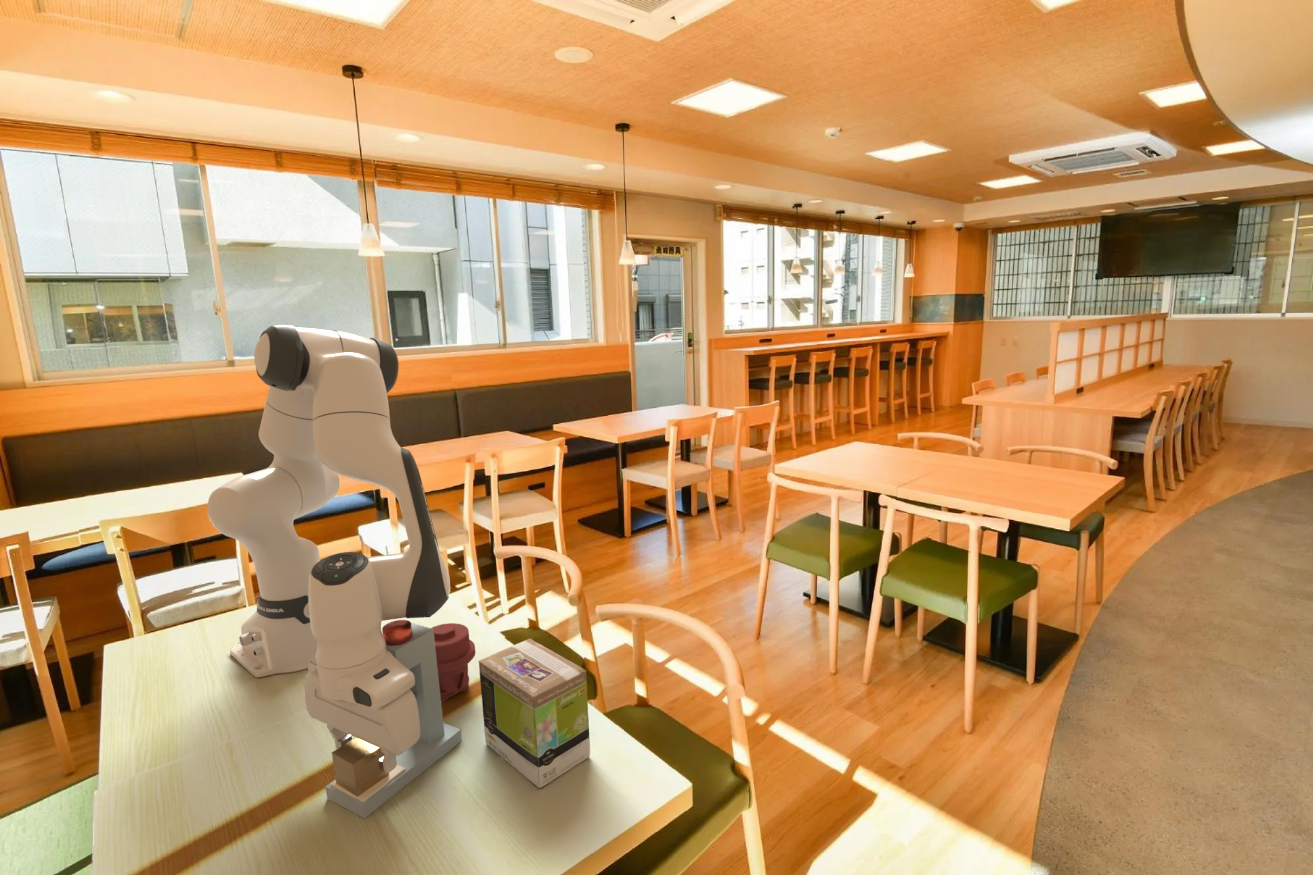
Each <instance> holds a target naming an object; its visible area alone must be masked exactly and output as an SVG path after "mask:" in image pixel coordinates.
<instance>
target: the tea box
mask: <svg viewBox="0 0 1313 875" xmlns="http://www.w3.org/2000/svg"><path fill="white" fill-rule="evenodd" d="M478 667H479V668H478V669H479V672H478V673H479V679H480V690H481V692H480V693H481V704H482V706H481V707H482V717H483V725H484V726H483V727H484V728H483V731H484V737H485V738H484V739H485V744H486V745H488V747H489V748H491V749H492V750H493V751H495V752H496V753H497V754H498V755H499V756H500V757H501V758H503V759H504V760H505V761H506V762H508V763H509V764H510V765H511V766H512V767H513V768H515V770H517V771H518V772H519V773H520V774H522V775H523V776H524V777H525V778H527V779H528V780H529V781H530V782H531V783H532V784H534V786H536V787H537V788H539V789H541V788H543V787H544V786H546V785H548V784H550V783H551V782H553V781H554V780H556V779H558V778H559V777H561V776H563V775H564V774H565V773H566V772H568V771H570V770H572V769H573V768H575V767H576V766H578V765H580V763H582V762H584V761H585V760H586V759H588V758H590V755H591V743H590V742H591V740H590V724H589V722H590V720H589V700H588V683H587V682H588V680H587V670H586V669H584V668H583V667H582V666H580V665H578V664H576V663H574V662H572V661H571V660H569V659H567V658H565V657H564V656H562V655H560V654H558V653H556V652H554V651H553V650H552V649H549V648H547V647H546V646H544V645H543V644H541V643H539V642H537V641H534V639H532V638H527V639H525V640H523V641H521V642H517V643H516V644H513V645H511V646H510V647H507V648H505V649H503V650H500V651H498V652H496V653H493V654H492V655H489V656H487V657H484V658H482V659H480V660H478Z"/></svg>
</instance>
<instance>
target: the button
mask: <svg viewBox="0 0 1313 875" xmlns="http://www.w3.org/2000/svg"><path fill="white" fill-rule="evenodd" d="M411 623H412V622H411V621H410V620H407V619H396V620H394V621H393V620H392V621H391V622H388V623H386V624H385V625H384V626H382V627H381V631H382V634H383V636H384V638H385V641H386V645H389V646H396V645H401V644H404V643H406V642H408V641H410V640H411V639H412V637H413V635H412V626H411ZM410 690H411V688H410ZM412 692H413V691H412ZM413 694H414V696H415V693H414V692H413Z"/></svg>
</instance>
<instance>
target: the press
mask: <svg viewBox="0 0 1313 875" xmlns="http://www.w3.org/2000/svg"><path fill="white" fill-rule="evenodd" d="M411 626H412V635H413V637H412V639H411V640H410V641H408V642H406V643H404V644H401V645H396V646H389V645H386V648H387V651H389V652H390V653H391V654H392V655H393V656H394V657H395V658H396V659H397V660H398V661H399V662H400V663H401V664H402V665H403V666H405V667H406V668H407V669H409V670H410V671H411V672H412V673H413V674H414V677H415V685H414V686H413V687H412V688H411V691H413V692H414V693H415V698H416V701H417V706H418V712H419V720H420V738H419V740H418V741H417V743H416V744H415V745H413V746H412V747H411V748H410V749H408V750H407V751H405V752H404V753H403V754H401V755H399V756H396V760H397V766H396V768H395V769H393V770H392V771H391V772H389V775H388V776H386V777H385V778H384V779H382V780H381V781H379V782H378V783H377V784H375V785H374V786H372V787H371V788H369V789H368V790H367V791H365V792H364V793H362V794H361V795H359V796H358V797H357V796H355V795H354V794H352V793H350V792H349V791H347V790H346V789H344V788H343V787H341V786H339V785H338V784H336V779H333V781H331V782H330V783H328V784H326V786H325V787H324V788H325V791H326V792H325V793H326V798H327V799H328V801H331V802H332V803H335V804H336V805H338V806H340V807H342V808H344V809H345V810H348V811H349V812H352V813H353V814H355V815H357V816H359V817H361V818H363V819H366V818H367V817H368V816H370V815H371V814H372V813H374V811H376V810H377V809H378V808H380V807H381V806H382V805H384V804H385V803H386V802H387V801H388V800H390V799H391V798H392V797H394V796H395V795H396V794H397V793H398V792H400V791H401V790H402V789H404V788H405V787H406V786H407V785H409V783H411V782H412V781H413V780H415V779H416V778H417V777H418V776H420V775H421V774H422V773H423V772H425V771H426V770H427V769H429V768H430V767H431V766H432V765H433V764H434V763H436V762H437V761H438V760H440V759H441V758H442V757H444V756H445V755H446V754H447V753H448V752H450V751H451V750H452V749H454V748H455V747H456V746H457V745H459V743H461V742H462V741H463V738H462V736H463V735H462V730H461V728H458V727H455V726H454V725H451V724H448V723H446V722H444V718H443V717H444V715H443V707H442V702H441V696H440V687H439V678H438V668H437V659H436V650H435V640H434V631H433V629H431V628H432V627H428V626H424V625H420V624H418V623H415V622H411Z"/></svg>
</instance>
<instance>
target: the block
mask: <svg viewBox="0 0 1313 875" xmlns="http://www.w3.org/2000/svg"><path fill="white" fill-rule="evenodd" d="M331 755H332V756H331V757H332V764H333V771H334V777H335V779H336V784H338V785H339V786H341V787H343V788H344V789H346V790H347V791H349V792H350V793H352V794H354V795H355V796H357V797H358V796H359V795H361V794H362V793H364V792H365V791H367V790H368V789H369V788H371V787H372V786H374V785H375V784H377V783H378V782H379V781H381V780H382V779H384V778H385V777H386V776H388V775H389V773H386V772H384V771H382V770H380V769H379V766H380V765H379V762H378V760H379V759H380V758H382V757H384V753H382V752H381V748H379V747H376V746H374V745H372V744H370V743H367V742H365V741H363V740H361V739H359V738H356V737H354V738H352V740H351V741H349V742H348V743H346V744H345V745H343V746H341V747H340V748H338V749H336V748H335V750H333V751H332V752H331ZM335 779H334V780H335Z"/></svg>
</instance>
